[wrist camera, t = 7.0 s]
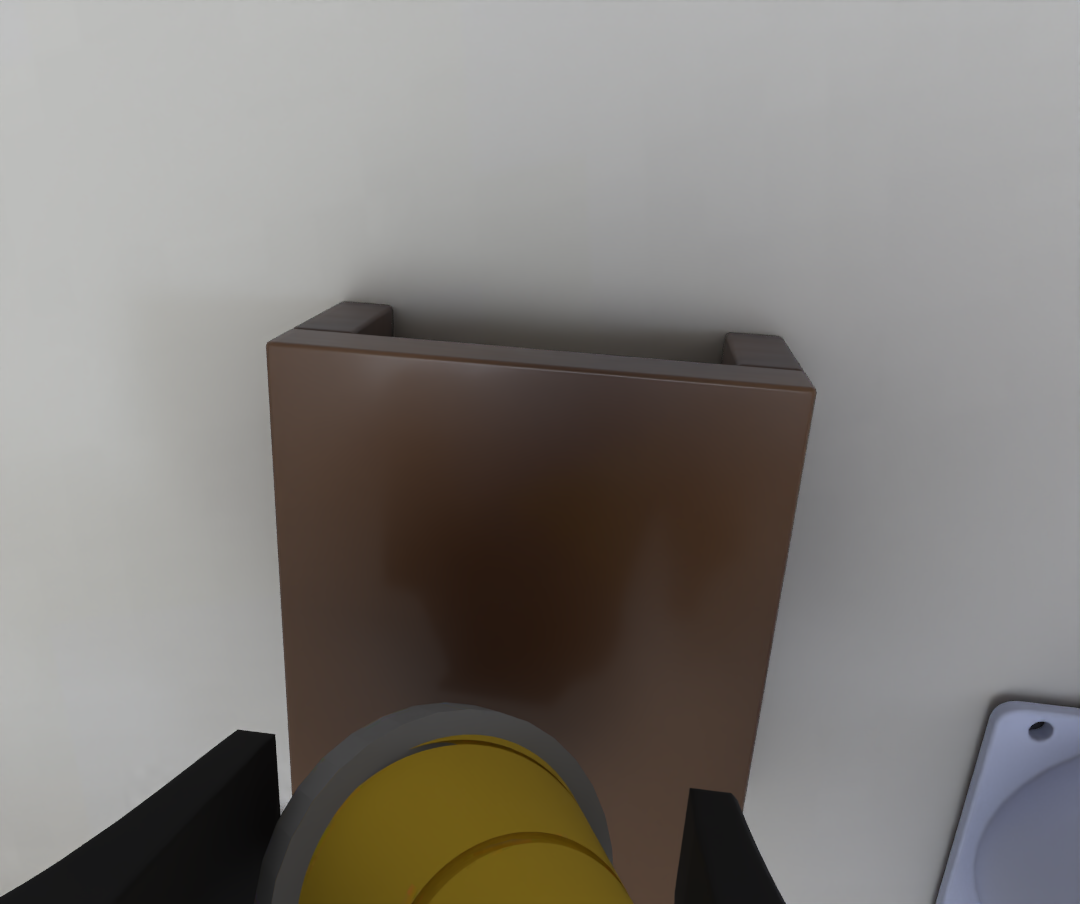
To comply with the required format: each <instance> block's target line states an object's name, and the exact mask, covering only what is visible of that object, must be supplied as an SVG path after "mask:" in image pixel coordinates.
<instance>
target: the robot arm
mask: <svg viewBox="0 0 1080 904" xmlns="http://www.w3.org/2000/svg"><path fill="white" fill-rule="evenodd" d="M1043 721H1044V722H1045V723H1044V725H1043V726H1042V727H1040V728H1038V729H1029V728H1030V727H1031V725H1033V724H1035V723H1036V722H1043ZM279 818H280V801H279V786H278V771H277V755H276V740H275V734H268V733H260V732H252V731H244V730H237V731H235V732H234V733H233V734H231V735H230V736H229V737H227V738H226V739H225V740H223V741H222V742H221V743H219V744H218V745H217V746H215V747H214V748H213V749H211V750H210V751H209V752H208V753H206V754H205V755H204V756H202V757H201V758H200V759H199V760H197V761H196V762H195V763H193V764H192V765H191V766H190V767H188V768H187V769H186V770H184V771H183V772H182V773H181V774H179V775H178V776H177V777H175V778H174V779H173V780H171V781H170V782H169V783H168V784H166V785H165V786H164V787H162V788H161V789H160V790H158V791H157V792H156V793H154V794H153V795H152V796H150V797H149V798H148V799H146V800H145V801H144V802H142V803H141V804H140V805H138V806H137V807H136V808H134V809H133V810H132V811H130V812H129V813H128V814H126V815H125V816H124V817H122V818H121V819H120V820H118V821H117V822H115V823H114V824H112V825H111V826H110V827H108V828H107V829H105V830H104V831H102V832H101V833H99V834H98V835H97V836H95V837H94V838H92V839H91V840H89V841H88V842H86V843H85V844H83V845H82V846H81V847H79V848H78V849H76V850H75V851H73V852H72V853H70V854H69V855H68V856H66V857H65V858H63V859H62V860H60V861H59V862H57V863H56V864H54V865H52V866H51V867H49V868H48V869H46V870H45V871H43V872H41V873H40V874H38V875H37V876H35V877H33V878H32V879H30V880H29V881H27V882H25V883H24V884H22V885H20V886H19V887H17V888H15V889H14V890H12V891H10V892H8V893H7V894H5V895H3V896H2V897H0V904H254V900H255V895H256V890H257V885H258V880H259V875H260V869H261V864H262V860H263V857H264V855H265V852H266V850H267V847H268V844H269V842H270V839H271V836H272V834H273V831H274V829H275V826H276V823H277V821H278V820H279ZM674 904H786V903H785V902H784V900H783V898H782V896H781V894H780V892H779V890H778V889H777V887H776V885H775V883H774V881H773V879H772V877H771V875H770V873H769V871H768V869H767V867H766V865H765V862H764V860H763V858H762V856H761V854H760V852H759V850H758V848H757V846H756V843H755V841H754V839H753V837H752V834H751V832H750V830H749V827H748V825H747V823H746V820H745V818H744V815H743V813H742V810H741V808H740V805H739V802H738V800H737V799H736V798H735V797H734V795H733V794H732V793H727V792H719V791H711V790H704V789H696V788H690V790H689V797H688V804H687V810H686V817H685V824H684V831H683V838H682V845H681V851H680V858H679V865H678V872H677V879H676V886H675V895H674ZM936 904H1080V708H1074V707H1066V706H1057V705H1048V704H1040V703H1031V702H1022V701H1008V702H1005V703H1002V704H1000V705H999V706H997V707H996V708H995V709H994V710H993V711H992V713H991V715H990V717H989V721H988V724H987V728H986V731H985V735H984V738H983V742H982V745H981V748H980V752H979V755H978V759H977V762H976V766H975V769H974V773H973V776H972V780H971V783H970V786H969V790H968V793H967V797H966V800H965V804H964V807H963V811H962V814H961V817H960V821H959V824H958V828H957V831H956V835H955V838H954V842H953V845H952V849H951V852H950V855H949V859H948V862H947V866H946V869H945V873H944V876H943V880H942V883H941V886H940V890H939V893H938V897H937V900H936Z"/></svg>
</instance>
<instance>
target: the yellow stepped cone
mask: <svg viewBox="0 0 1080 904" xmlns="http://www.w3.org/2000/svg"><path fill="white" fill-rule="evenodd" d="M254 904H634V903H633V902H632V900H631V898H630V896H629V895H628V893H627V891H626V889H625V887H624V885H623V884H622V882H621V880H620V878H619V877H618V875H617V873H616V871H615V869H614V868H613V856H612V845H611V841H610V836H609V831H608V827H607V822H606V817H605V814H604V811H603V809H602V807H601V804H600V802H599V799H598V797H597V794H596V792H595V790H594V787H593V785H592V783H591V782H590V780H589V779H588V777H587V776H586V774H585V773H584V771H583V770H582V768H581V767H580V765H579V764H578V762H577V761H576V759H575V758H574V757H573V756H572V755H571V754H570V753H569V752H568V751H567V750H566V749H565V748H564V747H563V746H562V745H561V744H560V743H559V742H558V741H557V740H556V739H555V738H553V737H552V736H550V735H549V734H547V733H545V732H544V731H542V730H541V729H539V728H537V727H536V726H534V725H533V724H531V723H529V722H527V721H524V720H521V719H518V718H515V717H512V716H510V715H507V714H504V713H501V712H497V711H494V710H490V709H487V708H483V707H479V706H476V705H467V704H458V703H448V702H443V703H434V704H425V705H416V706H412V707H409V708H406V709H403V710H400V711H397V712H394V713H391V714H388V715H385V716H382V717H380V718H379V719H377V720H375V721H373V722H371V723H370V724H368V725H366V726H364V727H363V728H361V729H359V730H357V731H355V732H354V733H352V734H351V735H349V736H348V737H347V738H346V739H345V740H343V741H342V742H341V743H340V744H339V745H337V746H336V747H335V748H334V749H333V750H331V751H330V752H329V753H328V754H327V755H325V756H324V757H323V758H322V759H321V760H320V762H319V763H318V764H317V765H316V766H315V767H314V769H313V770H312V771H311V772H310V773H309V775H308V776H307V777H306V778H305V779H304V780H303V782H302V783H301V784H300V785H299V786H298V788H297V789H296V791H295V793H294V794H293V796H292V798H291V799H290V801H289V803H288V804H287V806H286V808H285V810H284V811H283V813H282V815H281V816H280V818H279V820H278V821H277V823H276V826H275V829H274V831H273V834H272V836H271V839H270V842H269V844H268V847H267V850H266V852H265V855H264V857H263V860H262V864H261V869H260V875H259V880H258V885H257V890H256V895H255V900H254Z"/></svg>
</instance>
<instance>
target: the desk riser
mask: <svg viewBox="0 0 1080 904" xmlns="http://www.w3.org/2000/svg"><path fill="white" fill-rule="evenodd" d="M266 352H267V370H268V387H269V404H270V421H271V439H272V456H273V473H274V490H275V507H276V525H277V542H278V559H279V576H280V594H281V611H282V628H283V645H284V662H285V680H286V697H287V714H288V731H289V749H290V766H291V783H292V796H293V794H294V793H295V791H296V789H297V788H298V786H299V785H300V784H301V783H302V782H303V780H304V779H305V778H306V777H307V776H308V775H309V773H310V772H311V771H312V770H313V769H314V767H315V766H316V765H317V764H318V763H319V762H320V760H321V759H322V758H323V757H324V756H325V755H327V754H328V753H329V752H330V751H331V750H333V749H334V748H335V747H336V746H337V745H339V744H340V743H341V742H342V741H343V740H345V739H346V738H347V737H348V736H349V735H351V734H352V733H354V732H355V731H357V730H359V729H361V728H363V727H364V726H366V725H368V724H370V723H371V722H373V721H375V720H377V719H379V718H380V717H382V716H385V715H388V714H391V713H394V712H397V711H400V710H403V709H406V708H409V707H412V706H416V705H425V704H434V703H443V702H448V703H458V704H467V705H476V706H479V707H483V708H487V709H490V710H494V711H497V712H501V713H504V714H507V715H510V716H512V717H515V718H518V719H521V720H524V721H527V722H529V723H531V724H533V725H534V726H536V727H537V728H539V729H541V730H542V731H544V732H545V733H547V734H549V735H550V736H552V737H553V738H555V739H556V740H557V741H558V742H559V743H560V744H561V745H562V746H563V747H564V748H565V749H566V750H567V751H568V752H569V753H570V754H571V755H572V756H573V757H574V758H575V759H576V761H577V762H578V764H579V765H580V767H581V768H582V770H583V771H584V773H585V774H586V776H587V777H588V779H589V780H590V782H591V783H592V785H593V787H594V790H595V792H596V794H597V797H598V799H599V802H600V804H601V807H602V809H603V811H604V814H605V817H606V822H607V827H608V831H609V836H610V841H611V845H612V856H613V868H614V869H615V871H616V873H617V875H618V877H619V878H620V880H621V882H622V884H623V885H624V887H625V889H626V891H627V893H628V895H629V896H630V898H631V900H632V902H633V903H634V904H674V895H675V886H676V879H677V872H678V865H679V858H680V851H681V845H682V838H683V831H684V824H685V817H686V810H687V804H688V797H689V790H690V788H696V789H704V790H711V791H719V792H727V793H732V794H733V795H734V797H735V798H736V799H737V800H738V802H739V805H740V808H741V810H742V813H743V808H744V802H745V796H746V791H747V785H748V779H749V774H750V768H751V762H752V757H753V751H754V745H755V740H756V734H757V728H758V723H759V717H760V711H761V705H762V700H763V694H764V688H765V683H766V677H767V671H768V666H769V660H770V654H771V649H772V643H773V637H774V631H775V626H776V620H777V614H778V609H779V603H780V597H781V592H782V586H783V580H784V575H785V569H786V563H787V558H788V552H789V546H790V540H791V535H792V529H793V523H794V518H795V512H796V506H797V501H798V495H799V489H800V484H801V478H802V472H803V467H804V461H805V455H806V449H807V444H808V438H809V432H810V427H811V421H812V415H813V410H814V404H815V398H816V393H817V392H816V389H815V387H814V386H813V384H812V382H811V381H810V379H809V378H808V376H807V375H806V373H805V372H804V371H803V369H802V367H801V366H800V364H799V363H798V361H797V360H796V358H795V357H794V355H793V354H792V352H791V350H790V349H789V347H788V346H787V344H786V343H785V341H784V340H783V338H781V337H779V336H767V335H755V334H742V333H727V334H726V336H725V339H724V347H723V354H722V362H721V364H711V363H699V362H687V361H675V360H663V359H651V358H639V357H627V356H615V355H603V354H591V353H579V352H567V351H555V350H543V349H531V348H519V347H507V346H495V345H483V344H471V343H459V342H447V341H435V340H423V339H411V338H399V337H393V309H392V307H391V306H389V305H379V304H367V303H354V302H341V303H339V304H337V305H335V306H333V307H331V308H330V309H328V310H326V311H324V312H322V313H320V314H318V315H317V316H315V317H313V318H311V319H309V320H307V321H306V322H304V323H302V324H300V325H298V326H296V327H295V328H294V329H291V330H289V331H287V332H285V333H283V334H281V335H280V336H278V337H276V338H274V339H272V340H270V341H268V342H267V345H266Z"/></svg>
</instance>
